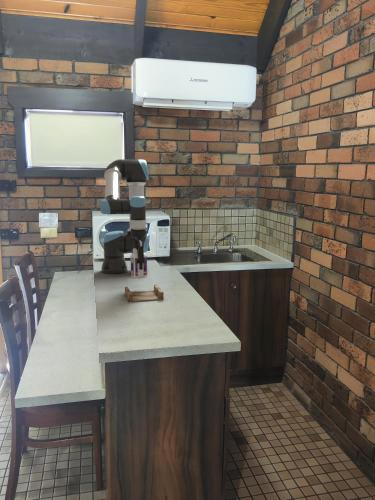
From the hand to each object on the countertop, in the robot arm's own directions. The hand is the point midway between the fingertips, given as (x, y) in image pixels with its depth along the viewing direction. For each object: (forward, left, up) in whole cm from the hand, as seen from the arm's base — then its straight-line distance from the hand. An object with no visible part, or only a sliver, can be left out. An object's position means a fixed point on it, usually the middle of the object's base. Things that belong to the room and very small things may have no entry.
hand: (139, 273), depth 211 cm
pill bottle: (0, 0, -2) cm, 2 cm away
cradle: (+11, 0, -8) cm, 14 cm away
